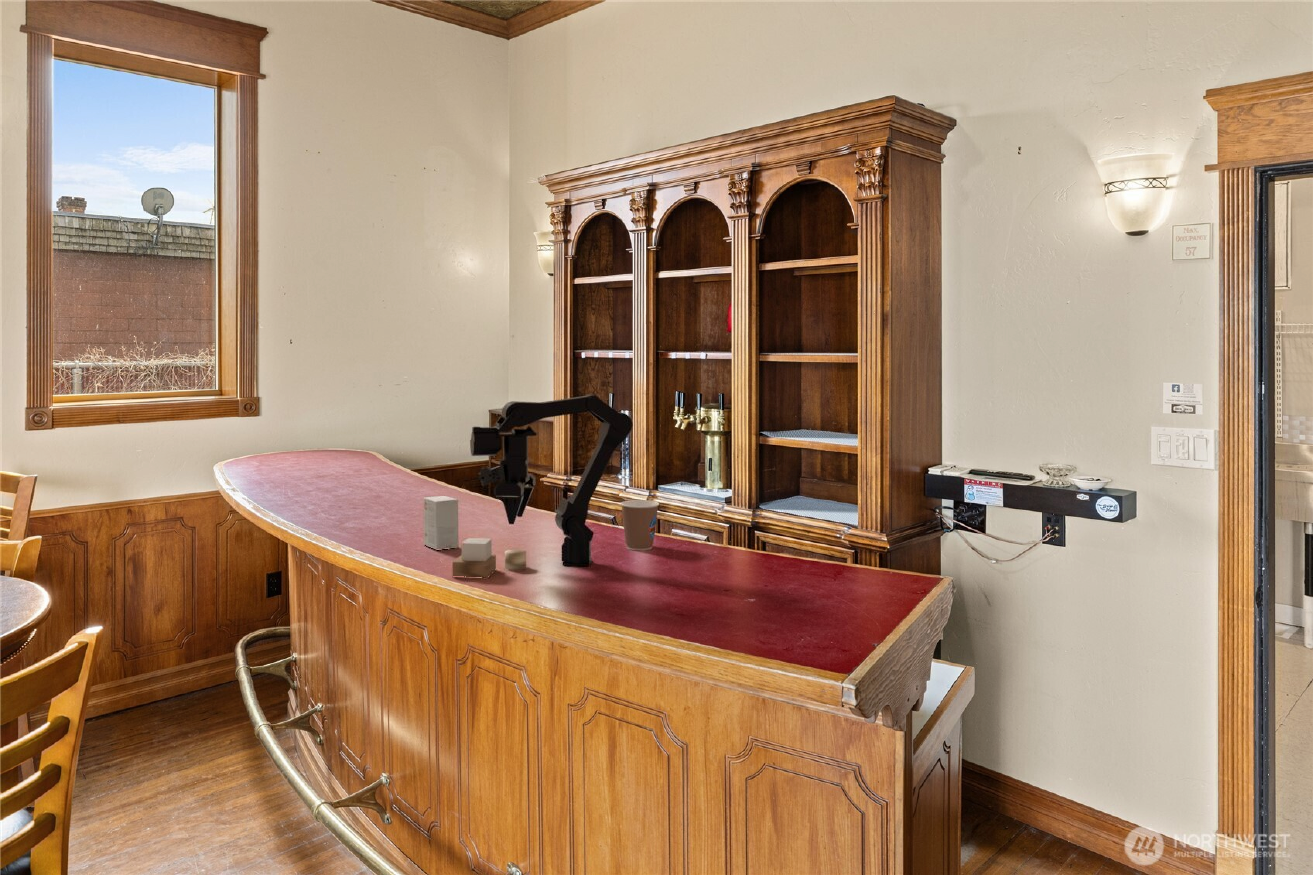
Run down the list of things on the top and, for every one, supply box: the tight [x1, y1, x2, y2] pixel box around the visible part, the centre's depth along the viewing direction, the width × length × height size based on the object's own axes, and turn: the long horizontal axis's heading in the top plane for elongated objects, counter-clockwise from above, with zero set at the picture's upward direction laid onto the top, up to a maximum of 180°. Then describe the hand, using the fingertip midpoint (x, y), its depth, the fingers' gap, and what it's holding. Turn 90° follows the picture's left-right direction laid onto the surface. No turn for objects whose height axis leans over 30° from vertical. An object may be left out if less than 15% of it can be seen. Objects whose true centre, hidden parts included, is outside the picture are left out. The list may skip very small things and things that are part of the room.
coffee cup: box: [620, 499, 660, 551], centre depth 222 cm, size 10×10×12 cm
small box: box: [423, 495, 459, 549], centre depth 219 cm, size 8×6×13 cm
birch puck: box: [504, 548, 527, 572], centre depth 199 cm, size 5×5×4 cm
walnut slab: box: [452, 554, 497, 579], centre depth 193 cm, size 8×8×4 cm
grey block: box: [461, 537, 493, 561], centre depth 193 cm, size 6×6×4 cm
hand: (515, 520), depth 198 cm, fingers open, 9 cm apart
